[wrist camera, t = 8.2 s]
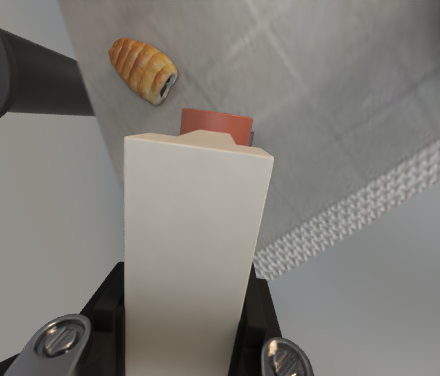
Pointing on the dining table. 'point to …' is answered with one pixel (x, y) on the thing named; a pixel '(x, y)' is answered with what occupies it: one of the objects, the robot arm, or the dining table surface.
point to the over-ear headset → (189, 242)
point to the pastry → (143, 69)
